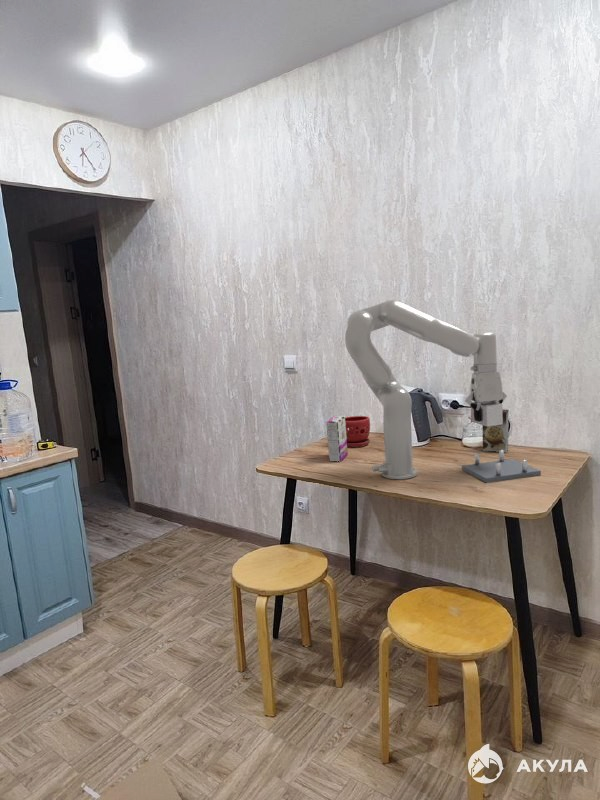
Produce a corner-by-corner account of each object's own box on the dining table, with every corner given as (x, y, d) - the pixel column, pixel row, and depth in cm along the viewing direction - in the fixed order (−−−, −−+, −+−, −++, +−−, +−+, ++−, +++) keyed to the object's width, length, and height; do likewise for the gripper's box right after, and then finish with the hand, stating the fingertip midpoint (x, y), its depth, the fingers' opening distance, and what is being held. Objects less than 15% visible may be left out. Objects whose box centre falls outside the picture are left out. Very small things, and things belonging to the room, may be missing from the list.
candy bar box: (336, 454, 226) (334, 415, 223) (348, 454, 224) (345, 415, 222) (328, 462, 216) (325, 421, 213) (340, 462, 214) (338, 421, 211)
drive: (487, 426, 185) (486, 405, 184) (471, 421, 195) (470, 401, 193) (502, 424, 186) (502, 403, 185) (485, 419, 196) (485, 399, 195)
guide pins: (497, 476, 179) (497, 464, 179) (473, 464, 194) (473, 453, 193) (528, 472, 181) (528, 460, 181) (502, 460, 196) (502, 449, 195)
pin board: (486, 482, 178) (486, 478, 178) (462, 469, 194) (462, 465, 194) (540, 475, 182) (540, 470, 182) (512, 462, 198) (512, 458, 197)
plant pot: (373, 441, 244) (371, 414, 242) (367, 448, 232) (366, 421, 230) (344, 441, 248) (343, 415, 246) (337, 448, 236) (336, 421, 234)
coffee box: (482, 451, 215) (481, 411, 213) (485, 447, 221) (484, 408, 218) (506, 452, 211) (506, 411, 208) (509, 448, 216) (508, 408, 214)
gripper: (468, 372, 182) (470, 424, 185) (514, 366, 186) (515, 418, 189) (456, 370, 189) (458, 421, 192) (501, 365, 193) (502, 415, 196)
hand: (486, 419), depth 190 cm, fingers closed on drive, 6 cm apart
